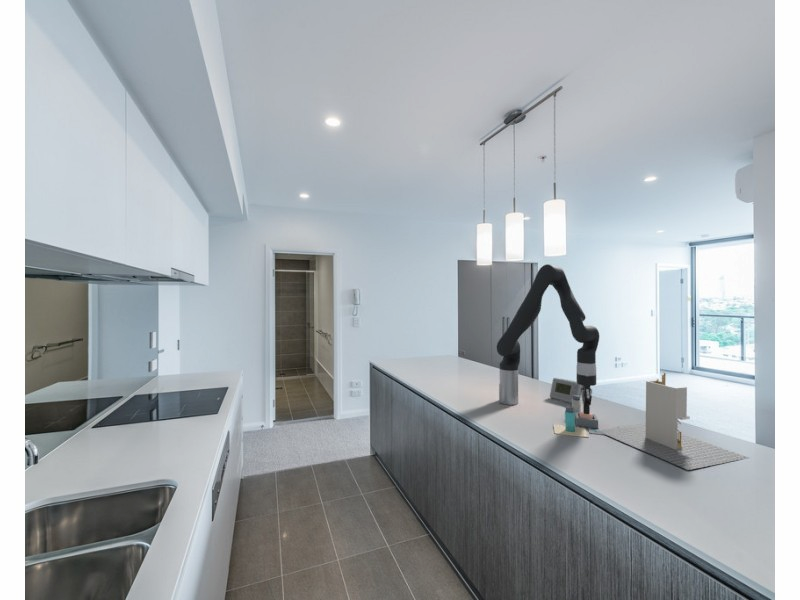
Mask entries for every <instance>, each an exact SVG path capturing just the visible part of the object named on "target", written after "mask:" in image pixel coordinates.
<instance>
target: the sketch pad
mask: <svg viewBox="0 0 800 600" xmlns="http://www.w3.org/2000/svg"><path fill="white" fill-rule="evenodd" d="M553 431H554V432H553V433H554V434H556V435H561V436H572V437H578V438H579V437H581V438H589V435H588V432H587V428H585V427H577V426H575V432H568V431H566V430H565V425H561V424H553Z"/></svg>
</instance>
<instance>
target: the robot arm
mask: <svg viewBox="0 0 800 600" xmlns="http://www.w3.org/2000/svg"><path fill="white" fill-rule="evenodd" d="M569 283H570V282H569V281H568V279H567V276H566V273H565V271H564V270H563V268H561V267H560V266H559V265H558V266H557V265H553V264H544V265H542V266H541V267H540V268H539V269H538V271H537V274H536V275H535V278H534V280H533V282H532V284H531V286H530V288H529V290H528V292H527V294H526V296H525V298H524V299H523V301H522V303H521V304H520V306H519V308H518V310H516V313H515V314H514V317H513V319H512V321H511V322H510V324H509V326H508V327H507V329H506V331H505V332H504V333H503V335H502V336H501V338H500V339H499V340H498V341H497V343H496V352H497V353H498V355H499V356H500V357H503V358H502V360H501V361H500V363H499V384H498V403H499V404H503V405H507V406H508V405H510V406H511V405H512V406H513V405H517V404H519V367H520V363H521V345H520V341H519V339H520V337H521V336H522V335H523V334H524V333H525V332H526V331H527V330H528V329H529V328H530V327H531V326H532V325H533V324H534V322H536V319H537V317H538V316H539V315H540V312H541V310H542V301H543V297H544V294H545V293H546V291H547V289H548V288H549V286H552V287H553V288H554V290H556V293H557V294H558V297H559V300H560V308H561V310H562V312H563V313H564V315H565V317H566V319H567V321H568V322H569V328H570V333H571V335H572V337H573V339H574V340H575V341H576V342H577V343H579V344H582V346H581V347H580V348H578V349H577V351H576V369H575V370H576V371H575V372H576V382H577V383H578V384H580V385H582V387H581V402H582V405H583V408H582V412H584V414H590V413H591V412H590V409H591V407H590V406H591V405H592V400H593V399H592V398H593V396H592V394H593V389H592V388H591V387H593V386H594V387H595V386H596V385H597V364H596V362H597V361H596V359H597V358H596V352H597V350H598V346H599V342H600V331H599V330H598V328H597V327H595V326H594V325H584V321H585V320H586V319H587V318H586V315H585V313H584V311H583V309H582V308H581V306H580V304H579V302H578V300H577V299H576V297H575V295H574V293H573V291H572V289H571V286H570V284H569Z"/></svg>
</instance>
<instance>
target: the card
mask: <svg viewBox="0 0 800 600" xmlns="http://www.w3.org/2000/svg"><path fill="white" fill-rule="evenodd" d="M596 430H600V429H599V428H598V429H595V428H587V431H588V433H589V434H592V435H601V436H607V435H606V434H603V433H601V432H599V431H596Z"/></svg>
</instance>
